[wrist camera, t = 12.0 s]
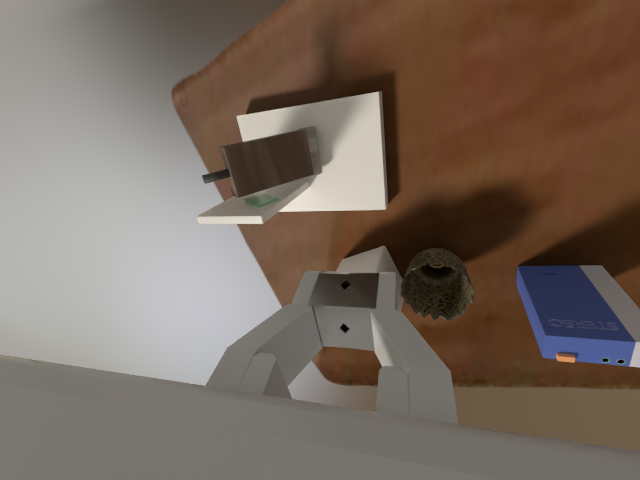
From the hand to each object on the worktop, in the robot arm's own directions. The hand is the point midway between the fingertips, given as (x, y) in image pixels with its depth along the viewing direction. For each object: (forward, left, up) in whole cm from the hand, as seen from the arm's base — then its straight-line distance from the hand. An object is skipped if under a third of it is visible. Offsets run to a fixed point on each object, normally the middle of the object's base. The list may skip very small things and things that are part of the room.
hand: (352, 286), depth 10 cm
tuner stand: (+12, -5, -28) cm, 31 cm away
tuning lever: (+10, -6, -24) cm, 27 cm away
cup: (+4, +14, -28) cm, 32 cm away
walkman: (-7, +21, -28) cm, 36 cm away
